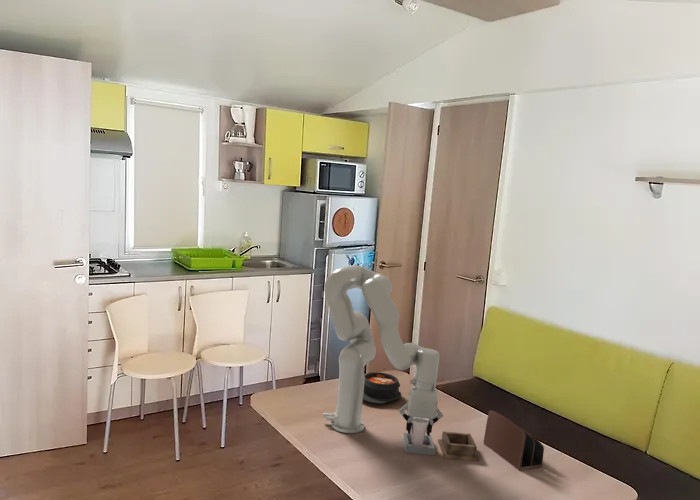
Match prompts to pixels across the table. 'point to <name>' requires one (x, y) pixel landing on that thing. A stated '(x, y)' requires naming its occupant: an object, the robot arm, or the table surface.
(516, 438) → the letter holder
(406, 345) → the robot arm
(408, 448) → the holder
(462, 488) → the table surface
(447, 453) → the socket
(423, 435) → the smoothie
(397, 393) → the casserole
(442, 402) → the table surface
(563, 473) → the table surface
